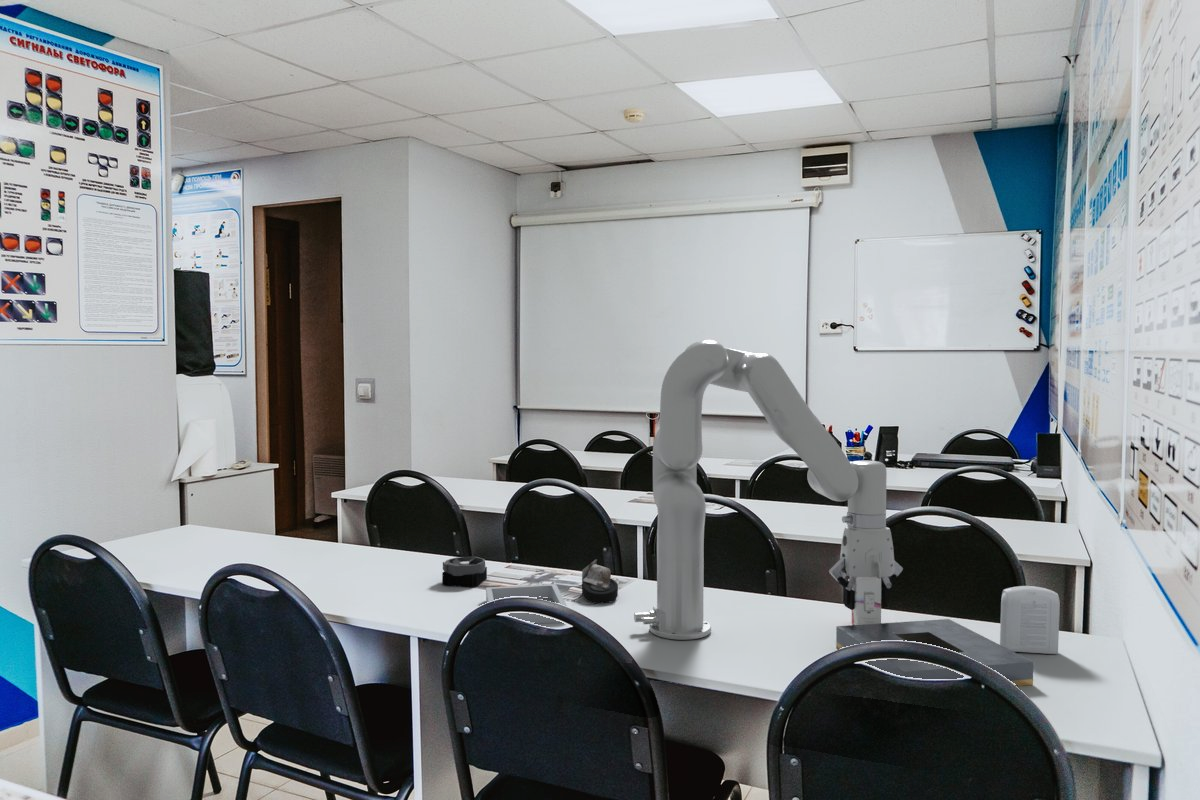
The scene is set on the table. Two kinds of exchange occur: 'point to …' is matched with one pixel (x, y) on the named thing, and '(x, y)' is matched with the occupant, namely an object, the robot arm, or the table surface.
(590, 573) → the caster wheel
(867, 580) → the ink cartridge box
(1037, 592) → the photo printer
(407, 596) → the table surface
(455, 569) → the cpu cooler
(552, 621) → the charger corral
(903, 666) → the dock
